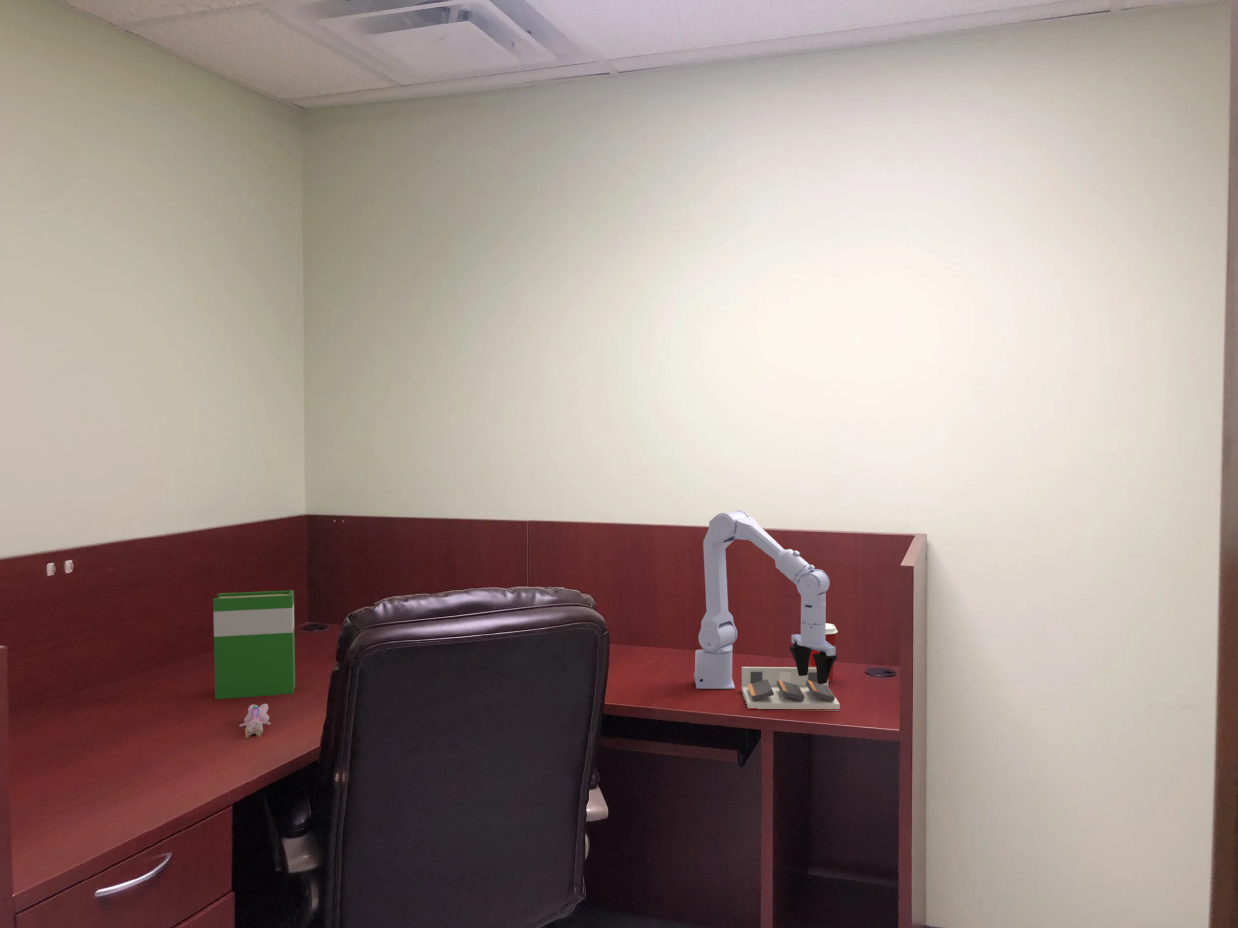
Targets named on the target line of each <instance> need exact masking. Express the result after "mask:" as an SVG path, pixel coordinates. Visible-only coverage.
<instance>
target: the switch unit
mask: <svg viewBox="0 0 1238 928" xmlns="http://www.w3.org/2000/svg"><path fill="white" fill-rule="evenodd" d="M766 679H768V682H769V684H770V686H771V688H772V690H773V693H774V695H772V696H769V697H766V698H762V699H759V700H755V701H753V699H752V697H751V694H750V691H749V689H748V685H749V684H752V683H756V682H759V681H763V680H766ZM777 680H781V681H785V682H788V683H792V684H796V685H798V686H799V688H800V689H801V691H802V693H803V695H804V700H803V701H801V700H797V699H793V698H790V697H786V696H782V694H781V692H780V690H779V688H778V686H777V684H776V683H777ZM807 680H809V681H813V682H816V683H818V681H817V669H816V668H810V666H809V667H808V674H807V675H806V676H799V675H798V671H797V666H794V667H790V666H788V667H787V666H782V667H781V666H779V667H778V666H770V667H769V666H741V693H743V694H742V696H743V699H744V701H746V702H745V704H747V705H746V707H748V708H758V709H840V710H841V704H840V702H839V701H838V699H837V697H835V699H834V701H830V700H826V699H823V698H819V697H815V696H813V695H812V694H811V692H810V690H809V689H808V687H807V685H806V681H807ZM824 685H827V686H828V687H829V682H828V681H827V683H826V684H824ZM748 708H747V709H748Z"/></svg>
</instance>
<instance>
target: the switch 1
mask: <svg viewBox="0 0 1238 928" xmlns="http://www.w3.org/2000/svg"><path fill="white" fill-rule="evenodd" d="M748 689H749V691H750V694H751V697H752V699H753V701H755V700H759V699H762V698H766V697H769V696H772V695H774V693H773V690H772V688H771V686H770V684H769V682H768V679H766V680H763V681H759V682H756V683H752V684H749V685H748Z"/></svg>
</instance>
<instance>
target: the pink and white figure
mask: <svg viewBox="0 0 1238 928" xmlns="http://www.w3.org/2000/svg"><path fill="white" fill-rule="evenodd" d="M268 711H269V705H268V704H267V703H263V704H261V705H257V704H250V705H249V706H248V708H247V715H246V716H245V717H244V719H243V722H244V723H240V724H239V727H240V728H242V727H244V726H245V728H244V734H245V736H244V738H246V740H247V739H248V738H250V737H251V736H252V735H256V737H258V738H259V739H260V737H262V734H263V732H264V726H263V725H268V726H271V724H272V723H271V722H270V721H269V720H270V716H269V715H268V713H267V712H268Z"/></svg>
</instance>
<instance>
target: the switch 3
mask: <svg viewBox="0 0 1238 928" xmlns="http://www.w3.org/2000/svg"><path fill="white" fill-rule="evenodd" d="M806 685H807V687H808V689H809V690H810V692H811V694H812V695H813V696H815V697H819V698H823V699H826V700H830V701H834V699H835V698H836V696H835V695H834V693H833V692H832V691H831V689H830V687H829V685H828V686H827V685H824V684H818V683H816V682H813V681H809V680H807V681H806Z"/></svg>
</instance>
